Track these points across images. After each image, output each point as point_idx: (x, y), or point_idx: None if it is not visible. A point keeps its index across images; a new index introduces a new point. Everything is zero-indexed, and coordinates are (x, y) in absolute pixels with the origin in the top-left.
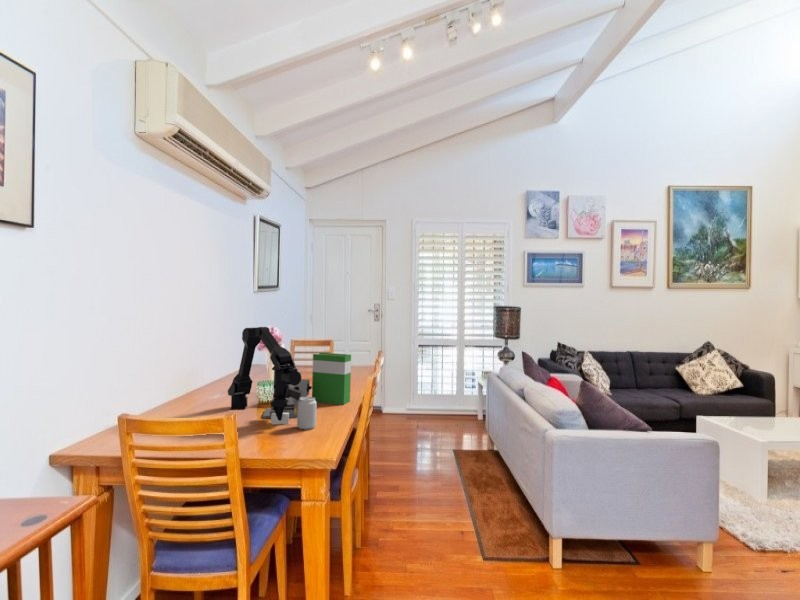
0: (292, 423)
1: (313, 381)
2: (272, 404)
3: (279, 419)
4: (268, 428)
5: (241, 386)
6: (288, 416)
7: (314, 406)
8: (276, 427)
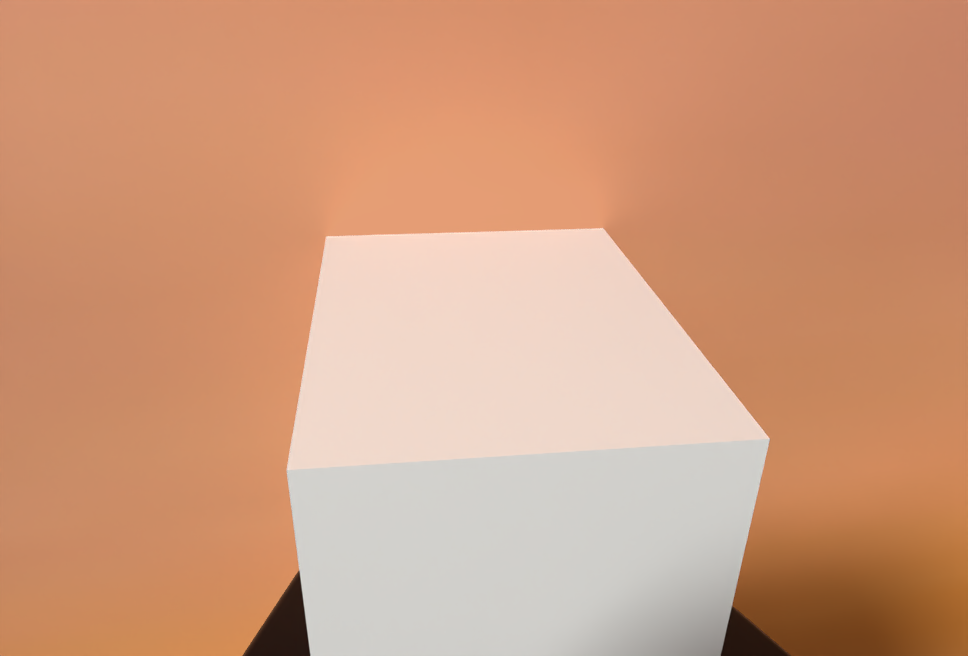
0: (559, 79)
1: None
2: None
3: None
4: (903, 650)
5: None
6: (717, 380)
7: None
8: (888, 513)
